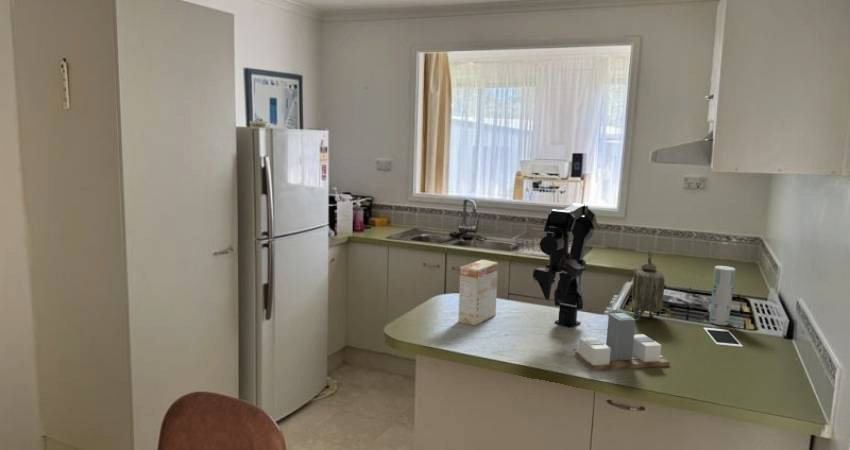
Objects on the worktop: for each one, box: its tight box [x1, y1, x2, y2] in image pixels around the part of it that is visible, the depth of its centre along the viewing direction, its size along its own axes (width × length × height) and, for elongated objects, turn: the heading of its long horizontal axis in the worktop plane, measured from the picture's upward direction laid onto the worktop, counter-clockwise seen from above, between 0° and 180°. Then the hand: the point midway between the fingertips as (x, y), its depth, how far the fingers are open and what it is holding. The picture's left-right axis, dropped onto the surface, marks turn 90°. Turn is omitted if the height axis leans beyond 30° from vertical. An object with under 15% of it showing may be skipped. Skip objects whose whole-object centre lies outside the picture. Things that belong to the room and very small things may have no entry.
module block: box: [605, 312, 637, 361], centre depth 169 cm, size 6×5×12 cm
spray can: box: [708, 265, 736, 326], centre depth 207 cm, size 6×6×20 cm
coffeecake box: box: [457, 259, 499, 326], centre depth 203 cm, size 15×7×20 cm, turn 144°
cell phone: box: [703, 327, 744, 348], centre depth 193 cm, size 8×16×1 cm, turn 169°
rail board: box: [574, 351, 671, 372], centre depth 171 cm, size 24×11×2 cm, turn 102°
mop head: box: [631, 249, 665, 322], centre depth 209 cm, size 14×9×25 cm, turn 164°
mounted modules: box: [577, 333, 662, 365], centre depth 170 cm, size 21×9×5 cm, turn 102°
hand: (555, 296), depth 188 cm, fingers open, 9 cm apart
